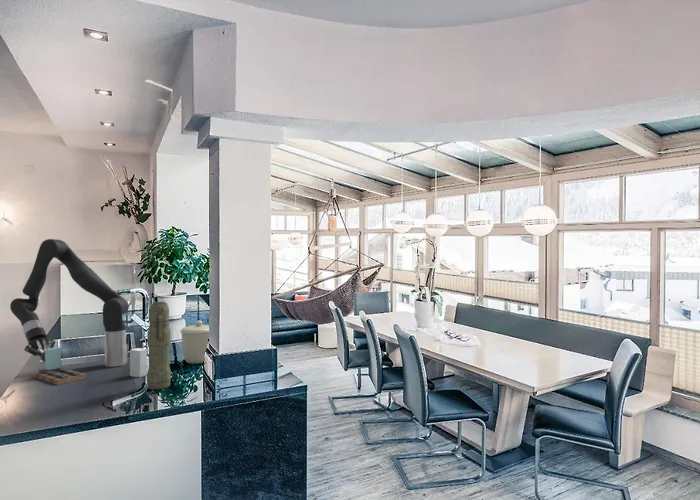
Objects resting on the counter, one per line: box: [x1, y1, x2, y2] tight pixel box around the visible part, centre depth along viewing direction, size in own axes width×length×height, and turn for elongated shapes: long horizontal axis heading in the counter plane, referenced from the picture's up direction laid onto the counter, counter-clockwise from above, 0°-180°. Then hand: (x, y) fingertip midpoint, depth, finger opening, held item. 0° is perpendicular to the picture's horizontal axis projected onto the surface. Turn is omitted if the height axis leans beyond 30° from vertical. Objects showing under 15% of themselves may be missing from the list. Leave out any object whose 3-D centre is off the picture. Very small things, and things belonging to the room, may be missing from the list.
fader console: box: [33, 367, 86, 386], centre depth 189 cm, size 22×11×3 cm, turn 59°
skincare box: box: [129, 347, 148, 378], centre depth 192 cm, size 6×4×12 cm
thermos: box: [146, 301, 172, 390], centre depth 177 cm, size 9×12×35 cm
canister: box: [179, 319, 210, 365], centre depth 217 cm, size 18×18×21 cm
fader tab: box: [44, 346, 62, 372], centre depth 192 cm, size 4×5×10 cm
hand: (46, 360), depth 196 cm, fingers closed
